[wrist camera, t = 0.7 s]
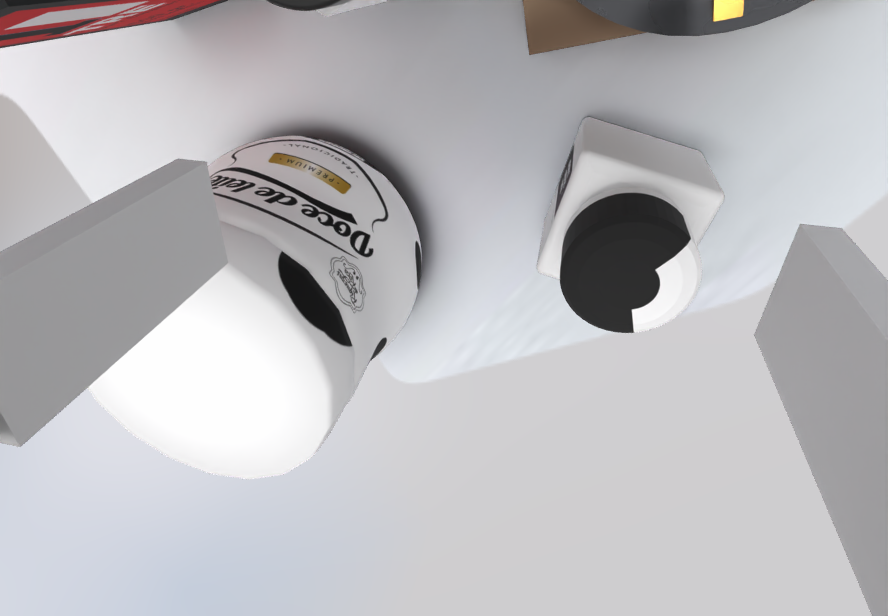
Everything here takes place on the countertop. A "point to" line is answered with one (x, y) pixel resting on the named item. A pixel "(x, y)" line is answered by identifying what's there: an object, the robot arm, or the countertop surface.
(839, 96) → the countertop surface
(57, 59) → the countertop surface
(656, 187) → the container
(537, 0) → the base
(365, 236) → the milk container
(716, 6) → the grey short round piece
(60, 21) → the cleaning product box
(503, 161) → the countertop surface
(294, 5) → the jar
